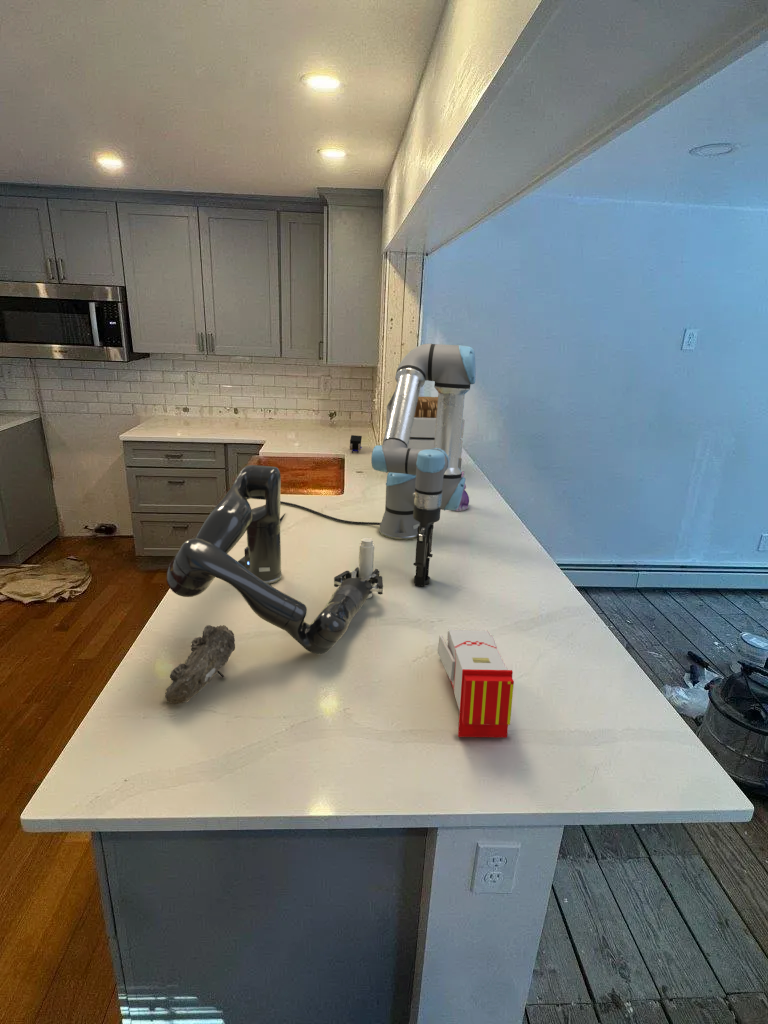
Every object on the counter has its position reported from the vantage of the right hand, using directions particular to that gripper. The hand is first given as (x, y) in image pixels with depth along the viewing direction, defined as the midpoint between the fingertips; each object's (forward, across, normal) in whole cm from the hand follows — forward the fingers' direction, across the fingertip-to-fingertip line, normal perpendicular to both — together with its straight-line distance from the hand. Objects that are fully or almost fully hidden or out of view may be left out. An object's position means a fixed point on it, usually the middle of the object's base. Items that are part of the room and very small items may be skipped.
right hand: (421, 581), depth 165 cm
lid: (-1, 0, 0) cm, 1 cm away
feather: (0, -34, -59) cm, 69 cm away
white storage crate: (-1, -114, -24) cm, 117 cm away
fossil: (+1, +59, -34) cm, 68 cm away
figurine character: (-2, -143, -66) cm, 158 cm away
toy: (+1, +46, +20) cm, 50 cm away
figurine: (-1, -70, +1) cm, 70 cm away
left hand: (-6, +10, -13) cm, 18 cm away
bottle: (0, +13, -13) cm, 19 cm away
